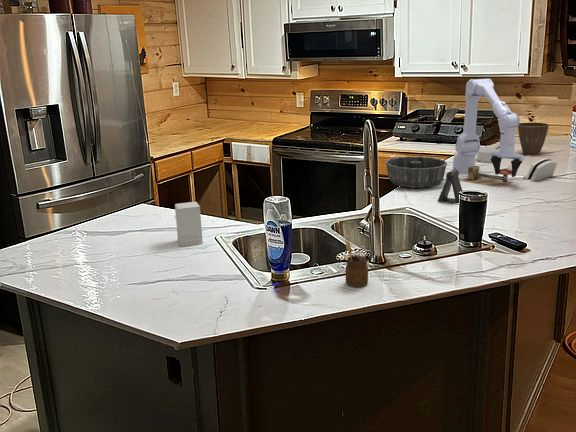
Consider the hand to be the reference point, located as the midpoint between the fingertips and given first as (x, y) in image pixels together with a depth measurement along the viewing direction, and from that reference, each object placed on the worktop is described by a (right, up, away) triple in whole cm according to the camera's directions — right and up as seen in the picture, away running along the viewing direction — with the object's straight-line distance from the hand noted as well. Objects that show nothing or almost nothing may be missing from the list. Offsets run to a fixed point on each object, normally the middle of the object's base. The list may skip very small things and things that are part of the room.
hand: (505, 175), depth 257 cm
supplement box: (-123, -26, -56) cm, 138 cm away
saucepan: (+13, +12, +56) cm, 59 cm away
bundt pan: (-36, -3, +11) cm, 37 cm away
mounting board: (-6, -3, +8) cm, 10 cm away
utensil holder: (-73, -35, -95) cm, 125 cm away
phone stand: (-28, -11, -19) cm, 35 cm away
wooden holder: (-10, -1, +12) cm, 15 cm away
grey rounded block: (+20, -1, +13) cm, 24 cm away
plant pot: (+36, +15, +64) cm, 75 cm away
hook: (-3, -2, +4) cm, 6 cm away
